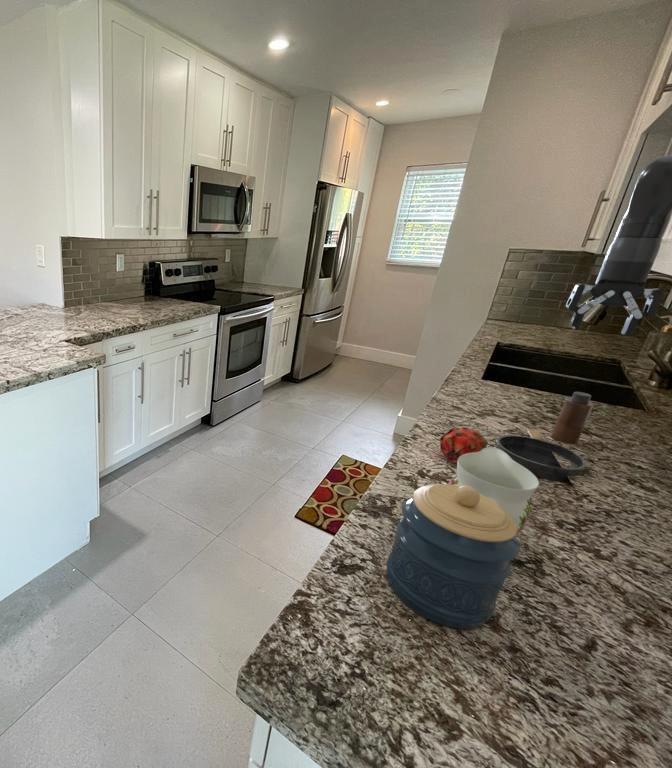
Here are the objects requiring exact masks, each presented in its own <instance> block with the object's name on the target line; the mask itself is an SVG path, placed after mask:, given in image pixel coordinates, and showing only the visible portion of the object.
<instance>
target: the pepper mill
mask: <svg viewBox="0 0 672 768" xmlns="http://www.w3.org/2000/svg"><path fill="white" fill-rule="evenodd" d="M591 398H592V395H591V394H590V393H586V392H582V391H574V392H573V393H572V396H571V397H566V398H565V399H564V402H563V404H562V407H561V410H560V411H559V415H558V416H557V420H556V421H555V424H554V427H553V429H552V432H551V433H552V434H550V437H551V439H553V440H554V441H558V442H560V443H563V444H569V445H576V444H577V445H578V442H579V440H580V439H579V438H581V435H582V432H583V431H584V428H585V426H586V424H587V422H588V419H589V417H590V415H591V412H592V409H593V408H594V403H592V402H590V400H591Z"/></svg>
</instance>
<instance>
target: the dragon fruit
mask: <svg viewBox="0 0 672 768" xmlns="http://www.w3.org/2000/svg"><path fill="white" fill-rule="evenodd" d="M438 441H439V442H438V443H439V447H440V448H439V449H440V450H441V453H442V454H443V457H444V458H446V459H448V460H446V462H447V463H448V462H450V461H451V463H453V464H457V461H458V458H459V457H460V456H461V455H463V454H467V453H473V452H479V451H481V450H482V449H484V448H487V446H488V445H489V442H488V440H487V439H486V438H485V437H484V436H483V435H482V433H481V432H480V431H479V430H476V429H469V428H468V427H465V426H461V427H460V429H455V428H451V429H448V430H447V431H446V432H445V433H444V434H443V435H441V437H440V438H439V440H438Z"/></svg>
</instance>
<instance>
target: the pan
mask: <svg viewBox="0 0 672 768" xmlns="http://www.w3.org/2000/svg"><path fill="white" fill-rule="evenodd" d="M544 440H545V439H544ZM544 440H540V439H536V438H531V437H530V436H526V435H516V434H504V435H501V436H498V437H497V438H496V440H495V442H494V445H493V447H494V448H498V449H500V450H502V451H504V452H505V453H506V454H508V455H509V456H510V457H511V459H512V460H514V461H515V462H517V463H518V464H520V465H522V466H523V467H525V468H526V469H528V470H529V471H530V472H532V473H533V474H534V475H535V476H536V478H541V479H546V480H550V481H556V482H558V481H559V482H571V479H570V478H569V477H579V476H580V475H582V474H584V472H585V470H586V468H587V465H588V462H587V461H586V460H585V459H584V458H583V457H582V456H581V455H579V454H578V453H576V452H575V451H573V450H571V449H569V448H566V447H564V446H562V445H559V444H556V443H553V442H551V441H547V440H545V441H544ZM555 454H556V455H559V456H561V457H562V458H565V459H566V460H568V461H569V462H571V463H572V464H573V466H574V467H562V465H561V464H560V462H559V460H558V459H557V458H556V456H555Z"/></svg>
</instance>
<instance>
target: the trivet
mask: <svg viewBox="0 0 672 768" xmlns="http://www.w3.org/2000/svg"><path fill="white" fill-rule="evenodd" d="M525 432H527V434H528V437H531V438H536V439H540V440H544V441H546V440H545V439H544V437H543V436H542V434H541V433H545V434H549V435H551V434H552V432H550V431H545V430H539V429H535V428H529V427H526V428H525ZM579 440H582V441H589V440H588V439H586V438H582V437H579Z"/></svg>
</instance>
